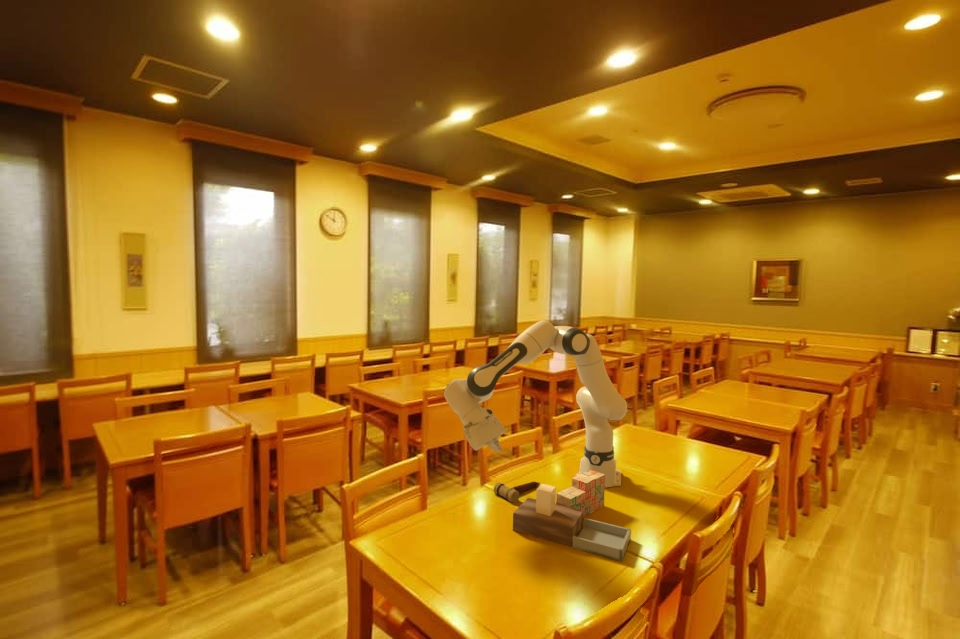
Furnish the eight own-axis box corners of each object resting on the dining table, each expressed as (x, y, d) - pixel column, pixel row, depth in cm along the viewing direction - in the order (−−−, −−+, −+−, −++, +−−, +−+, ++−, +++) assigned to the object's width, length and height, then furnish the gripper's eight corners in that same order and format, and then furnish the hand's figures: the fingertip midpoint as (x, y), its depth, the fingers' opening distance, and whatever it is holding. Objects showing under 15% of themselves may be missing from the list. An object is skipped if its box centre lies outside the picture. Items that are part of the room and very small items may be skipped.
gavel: (531, 473, 196) (549, 481, 188) (530, 484, 196) (548, 493, 188) (493, 483, 182) (511, 492, 175) (493, 495, 183) (510, 504, 175)
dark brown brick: (527, 513, 167) (527, 497, 167) (582, 528, 158) (583, 510, 157) (512, 530, 156) (513, 512, 155) (571, 546, 146) (571, 528, 146)
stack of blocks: (569, 525, 160) (570, 490, 159) (555, 518, 164) (556, 484, 164) (604, 506, 174) (605, 474, 174) (590, 500, 179) (591, 469, 178)
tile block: (541, 506, 160) (541, 483, 160) (555, 509, 158) (555, 486, 157) (535, 512, 156) (536, 489, 155) (550, 516, 153) (550, 492, 153)
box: (584, 527, 158) (584, 517, 158) (630, 539, 151) (630, 529, 151) (572, 547, 146) (572, 537, 145) (621, 561, 139) (622, 550, 139)
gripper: (466, 421, 157) (492, 455, 153) (493, 408, 175) (517, 438, 171) (455, 432, 160) (480, 466, 156) (482, 418, 178) (505, 448, 174)
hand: (499, 451), depth 164 cm, fingers closed
